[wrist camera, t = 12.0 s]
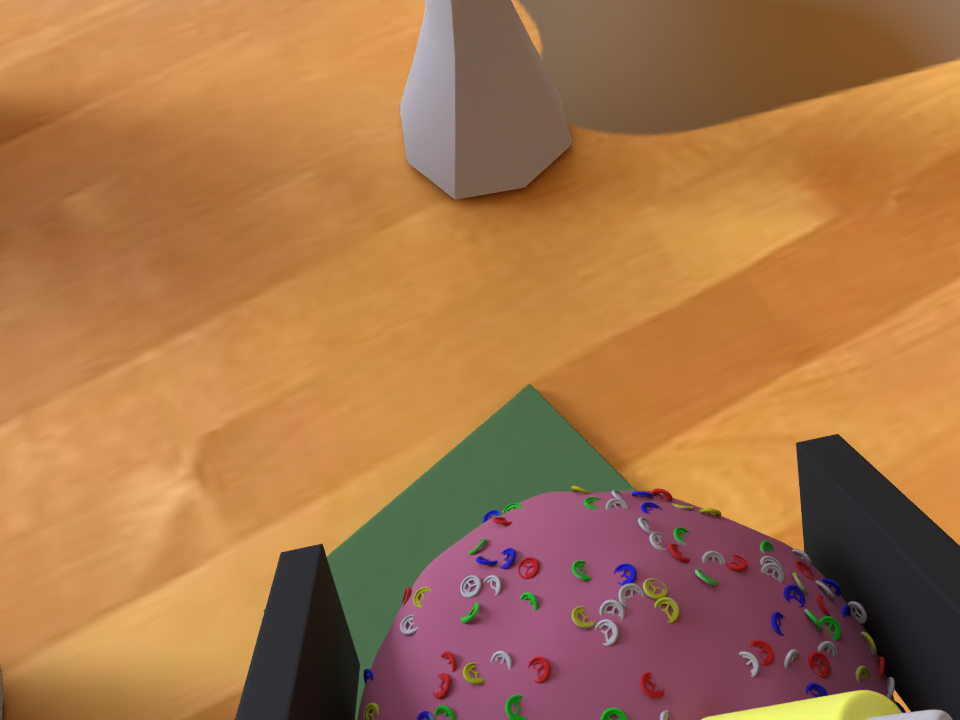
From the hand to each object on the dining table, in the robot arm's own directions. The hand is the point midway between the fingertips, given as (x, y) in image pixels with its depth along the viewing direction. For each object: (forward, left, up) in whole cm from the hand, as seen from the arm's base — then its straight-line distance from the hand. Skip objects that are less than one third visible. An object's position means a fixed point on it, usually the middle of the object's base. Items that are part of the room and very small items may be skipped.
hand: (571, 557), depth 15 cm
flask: (-17, +11, -13) cm, 25 cm away
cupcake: (+3, -2, -4) cm, 5 cm away
